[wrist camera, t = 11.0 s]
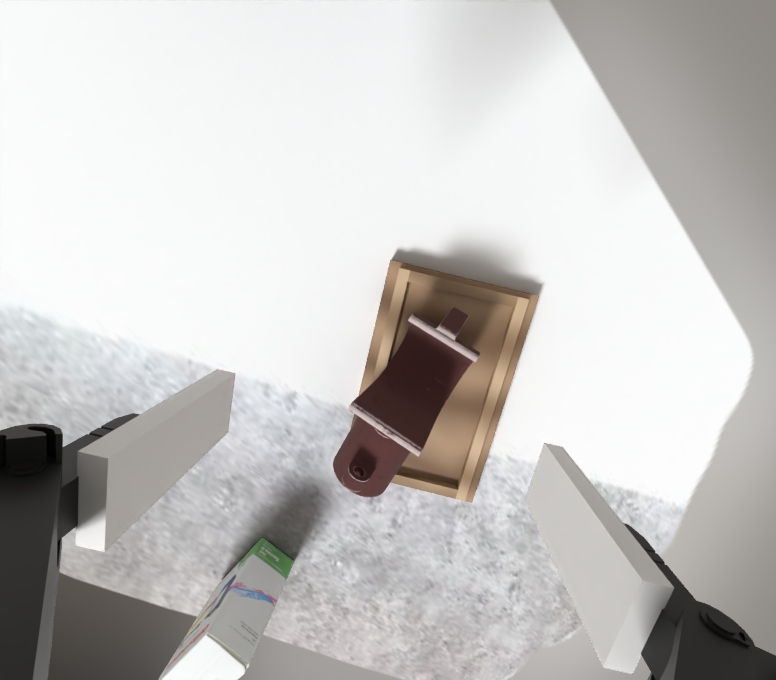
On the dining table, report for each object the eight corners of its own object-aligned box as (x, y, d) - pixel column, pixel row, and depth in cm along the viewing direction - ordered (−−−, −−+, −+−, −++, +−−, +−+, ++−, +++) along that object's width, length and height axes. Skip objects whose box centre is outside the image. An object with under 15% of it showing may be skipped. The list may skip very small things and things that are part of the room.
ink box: (252, 604, 44) (196, 725, 33) (218, 579, 44) (149, 692, 32) (296, 560, 42) (253, 670, 31) (261, 533, 42) (204, 635, 30)
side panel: (391, 260, 35) (390, 259, 33) (534, 295, 35) (542, 296, 33) (343, 464, 40) (339, 474, 38) (470, 495, 40) (473, 507, 38)
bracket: (493, 327, 32) (485, 359, 23) (403, 462, 39) (368, 529, 29) (433, 291, 33) (402, 308, 24) (354, 429, 39) (306, 484, 30)
